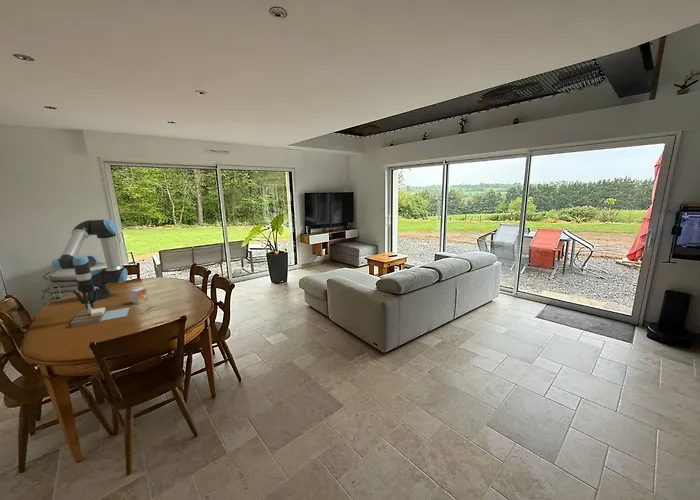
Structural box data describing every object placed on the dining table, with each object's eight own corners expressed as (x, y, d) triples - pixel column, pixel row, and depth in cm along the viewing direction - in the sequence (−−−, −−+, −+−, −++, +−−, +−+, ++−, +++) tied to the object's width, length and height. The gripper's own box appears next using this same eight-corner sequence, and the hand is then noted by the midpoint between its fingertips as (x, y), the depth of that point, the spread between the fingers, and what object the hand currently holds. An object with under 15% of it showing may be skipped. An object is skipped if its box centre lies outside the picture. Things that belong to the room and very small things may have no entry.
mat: (105, 311, 205) (105, 311, 205) (129, 307, 212) (129, 307, 212) (100, 321, 190) (100, 320, 190) (126, 316, 197) (126, 315, 197)
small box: (138, 304, 219) (136, 291, 217) (133, 303, 220) (130, 290, 218) (148, 300, 227) (146, 287, 225) (142, 299, 228) (140, 287, 226)
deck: (80, 315, 199) (79, 311, 198) (106, 311, 206) (105, 307, 206) (71, 327, 181) (70, 323, 180) (99, 322, 188) (99, 318, 187)
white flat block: (94, 311, 198) (93, 309, 197) (105, 309, 201) (104, 307, 200) (91, 316, 190) (90, 313, 190) (102, 314, 193) (102, 311, 193)
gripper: (69, 282, 182) (76, 316, 187) (95, 279, 189) (102, 312, 193) (72, 279, 188) (79, 312, 193) (98, 276, 195) (104, 308, 200)
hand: (90, 312), depth 193 cm, fingers closed
